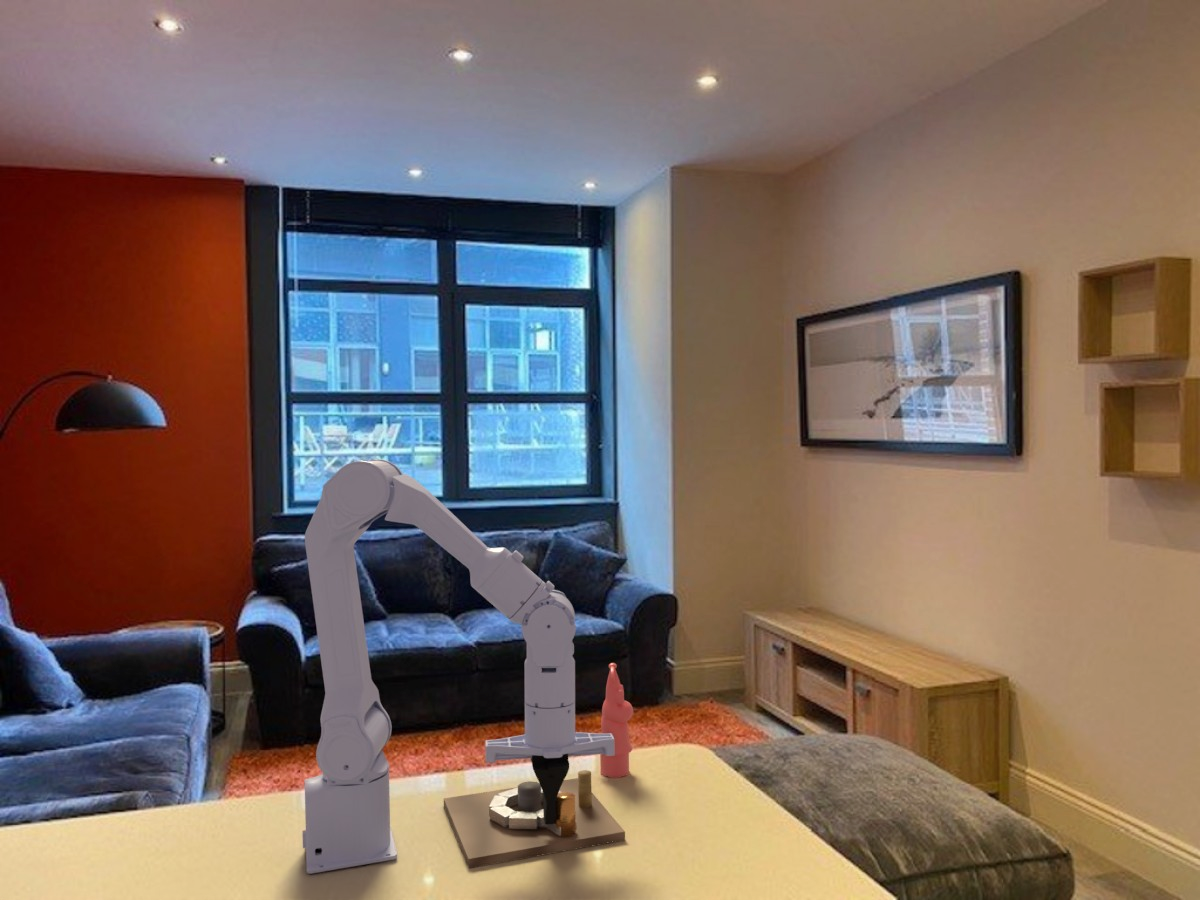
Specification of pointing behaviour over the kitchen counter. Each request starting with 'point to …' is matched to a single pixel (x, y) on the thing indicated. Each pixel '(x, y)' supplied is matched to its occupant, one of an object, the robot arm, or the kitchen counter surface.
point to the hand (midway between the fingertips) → (550, 820)
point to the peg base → (502, 844)
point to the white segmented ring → (534, 813)
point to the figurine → (616, 727)
